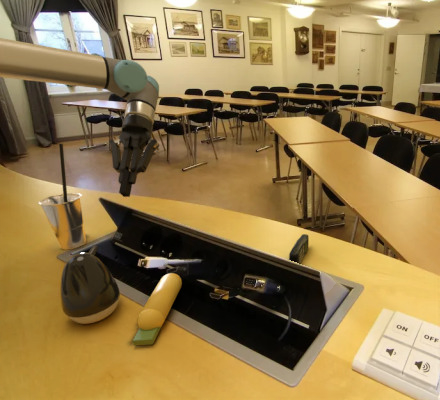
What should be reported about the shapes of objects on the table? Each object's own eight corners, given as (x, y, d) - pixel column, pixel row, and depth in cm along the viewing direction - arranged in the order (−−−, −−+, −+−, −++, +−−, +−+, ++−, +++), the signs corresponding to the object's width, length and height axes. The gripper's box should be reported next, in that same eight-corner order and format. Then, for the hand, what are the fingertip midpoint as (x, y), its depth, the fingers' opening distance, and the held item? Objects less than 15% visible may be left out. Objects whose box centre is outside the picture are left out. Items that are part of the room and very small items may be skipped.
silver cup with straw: (86, 232, 107) (61, 143, 96) (101, 242, 101) (76, 147, 90) (46, 244, 99) (14, 149, 88) (60, 256, 93) (27, 154, 82)
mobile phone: (298, 255, 85) (311, 230, 99) (287, 254, 86) (301, 229, 99) (298, 271, 87) (311, 244, 101) (287, 270, 88) (301, 243, 101)
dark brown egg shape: (132, 298, 76) (118, 241, 70) (106, 331, 66) (88, 267, 60) (88, 299, 75) (70, 242, 70) (56, 332, 65) (32, 268, 60)
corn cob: (130, 348, 62) (124, 327, 60) (164, 286, 80) (161, 269, 78) (157, 346, 62) (152, 326, 61) (185, 285, 80) (182, 268, 79)
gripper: (166, 129, 98) (155, 199, 88) (121, 129, 96) (105, 201, 87) (157, 113, 91) (144, 187, 81) (108, 113, 89) (89, 189, 80)
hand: (124, 194), depth 84 cm, fingers closed
